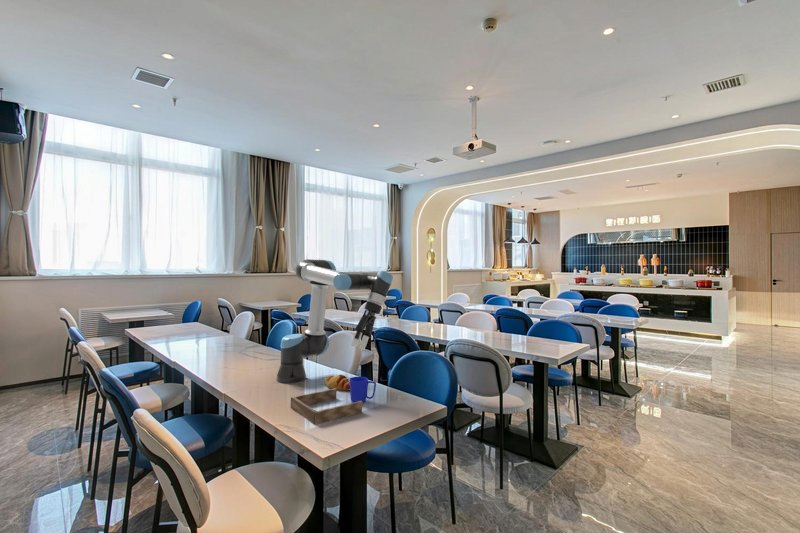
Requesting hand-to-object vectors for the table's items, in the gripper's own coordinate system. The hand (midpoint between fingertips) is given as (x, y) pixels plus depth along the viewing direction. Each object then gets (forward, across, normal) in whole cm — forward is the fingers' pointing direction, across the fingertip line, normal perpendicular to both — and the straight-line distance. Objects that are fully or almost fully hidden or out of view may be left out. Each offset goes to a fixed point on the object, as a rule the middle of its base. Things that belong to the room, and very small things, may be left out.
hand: (357, 348), depth 169 cm
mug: (+21, +8, -9) cm, 24 cm away
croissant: (+21, +26, +9) cm, 35 cm away
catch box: (+28, -5, +2) cm, 28 cm away
